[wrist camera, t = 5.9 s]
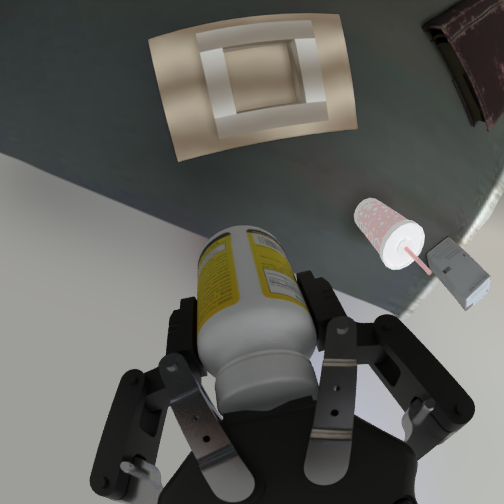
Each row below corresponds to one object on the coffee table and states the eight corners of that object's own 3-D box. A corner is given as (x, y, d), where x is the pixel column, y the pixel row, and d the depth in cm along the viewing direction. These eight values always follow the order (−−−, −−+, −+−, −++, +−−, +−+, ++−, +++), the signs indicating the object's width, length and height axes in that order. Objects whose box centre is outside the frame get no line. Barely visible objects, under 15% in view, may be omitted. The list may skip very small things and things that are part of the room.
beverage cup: (350, 194, 33) (414, 251, 21) (388, 191, 34) (457, 242, 22) (347, 236, 36) (400, 302, 25) (383, 230, 37) (441, 289, 25)
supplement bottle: (204, 298, 19) (209, 435, 10) (192, 227, 16) (181, 377, 8) (282, 289, 19) (324, 418, 11) (285, 218, 16) (353, 353, 8)
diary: (416, 26, 22) (440, 22, 17) (477, -11, 14) (496, -13, 10) (470, 129, 30) (492, 137, 26) (518, 71, 23) (536, 75, 18)
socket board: (151, 42, 21) (141, 33, 17) (333, 17, 21) (351, 8, 17) (179, 158, 28) (174, 169, 24) (351, 127, 28) (370, 133, 25)
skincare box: (448, 234, 39) (492, 274, 29) (450, 251, 42) (490, 290, 31) (424, 254, 41) (466, 298, 31) (428, 270, 43) (466, 313, 33)
